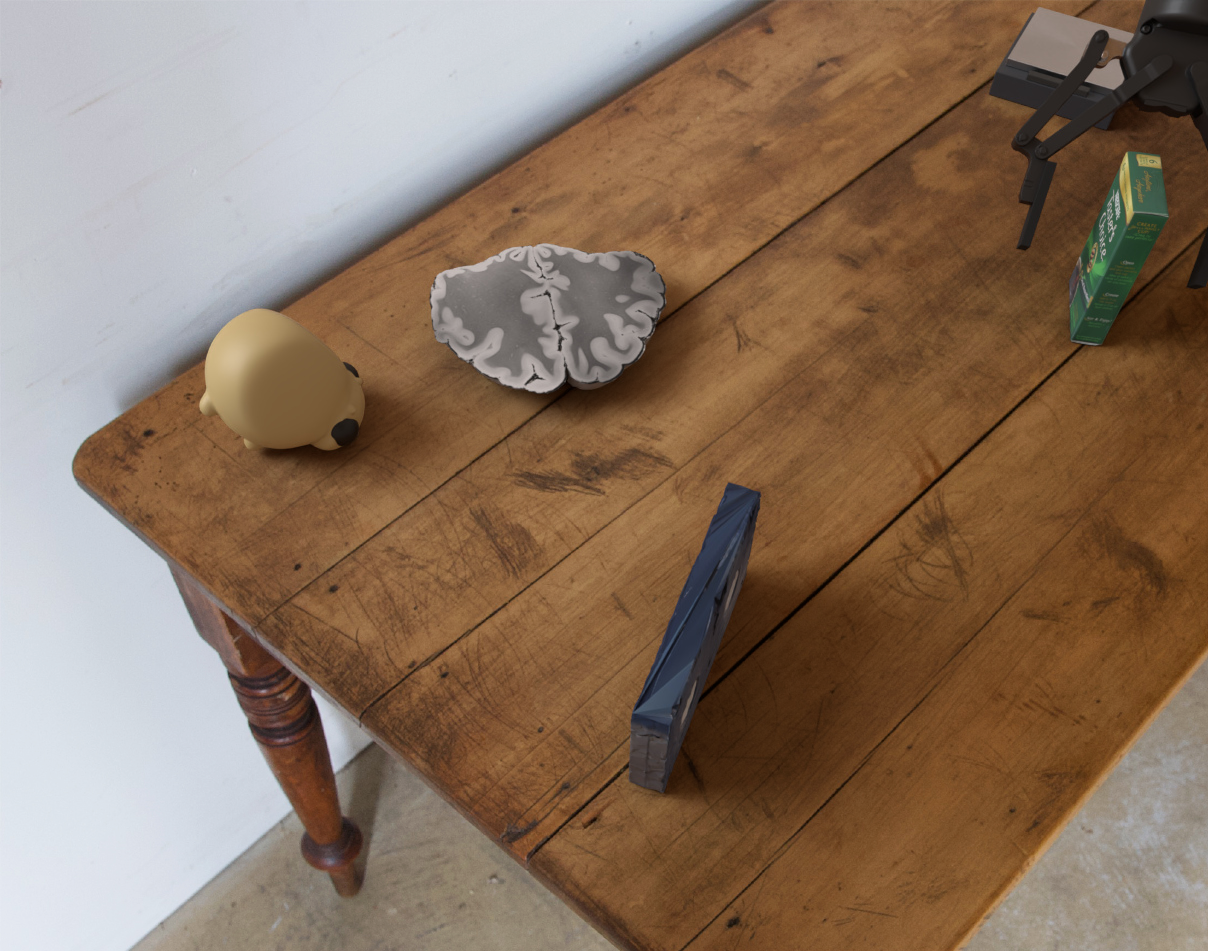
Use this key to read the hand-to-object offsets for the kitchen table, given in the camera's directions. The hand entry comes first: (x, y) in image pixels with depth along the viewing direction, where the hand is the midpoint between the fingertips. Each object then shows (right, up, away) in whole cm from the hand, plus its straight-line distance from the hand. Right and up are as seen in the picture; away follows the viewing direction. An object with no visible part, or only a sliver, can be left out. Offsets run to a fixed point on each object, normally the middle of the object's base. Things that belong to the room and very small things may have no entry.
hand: (1108, 267), depth 89 cm
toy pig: (-65, -13, -1) cm, 66 cm away
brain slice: (-45, -5, +4) cm, 45 cm away
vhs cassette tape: (-35, -32, -13) cm, 49 cm away
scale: (+6, +26, +24) cm, 36 cm away
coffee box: (+1, -2, +6) cm, 7 cm away
